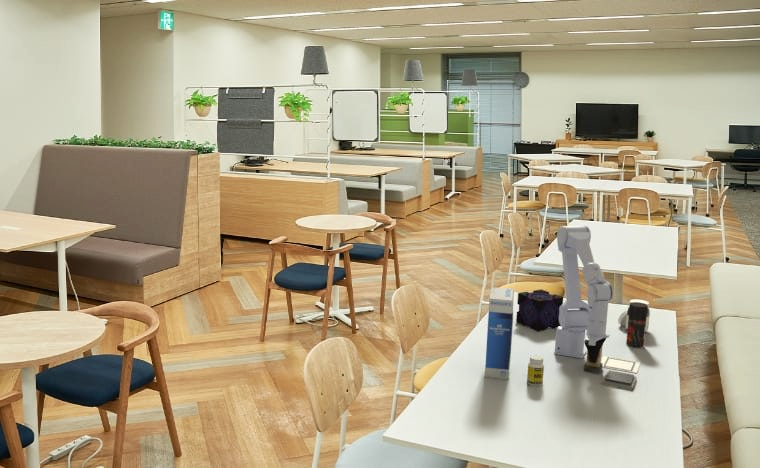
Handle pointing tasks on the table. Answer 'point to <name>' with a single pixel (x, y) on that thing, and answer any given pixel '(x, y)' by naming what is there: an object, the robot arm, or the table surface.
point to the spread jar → (625, 315)
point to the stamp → (594, 364)
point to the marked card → (620, 364)
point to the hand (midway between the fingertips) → (593, 360)
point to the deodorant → (636, 324)
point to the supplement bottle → (535, 371)
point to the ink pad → (619, 380)
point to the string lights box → (499, 333)
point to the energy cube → (539, 310)
